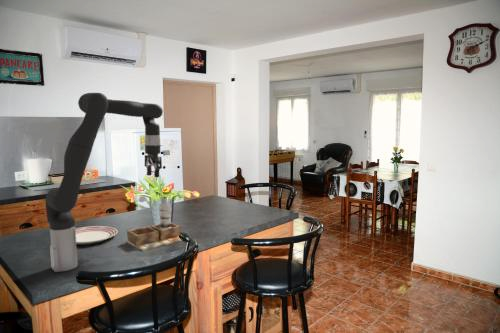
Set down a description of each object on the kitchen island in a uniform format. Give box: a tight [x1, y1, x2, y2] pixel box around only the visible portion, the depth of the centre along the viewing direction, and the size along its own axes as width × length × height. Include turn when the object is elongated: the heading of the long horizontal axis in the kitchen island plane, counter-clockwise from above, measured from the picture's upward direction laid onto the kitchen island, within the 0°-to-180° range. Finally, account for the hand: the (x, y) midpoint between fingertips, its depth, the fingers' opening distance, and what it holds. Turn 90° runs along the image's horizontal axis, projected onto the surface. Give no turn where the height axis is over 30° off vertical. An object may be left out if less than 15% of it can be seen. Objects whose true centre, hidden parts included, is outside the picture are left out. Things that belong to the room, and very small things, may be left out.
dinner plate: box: [75, 225, 119, 245], centre depth 185 cm, size 28×27×3 cm
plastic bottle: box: [158, 196, 172, 230], centre depth 185 cm, size 6×7×20 cm
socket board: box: [125, 222, 183, 252], centre depth 180 cm, size 24×18×6 cm
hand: (153, 176), depth 181 cm, fingers open, 8 cm apart
